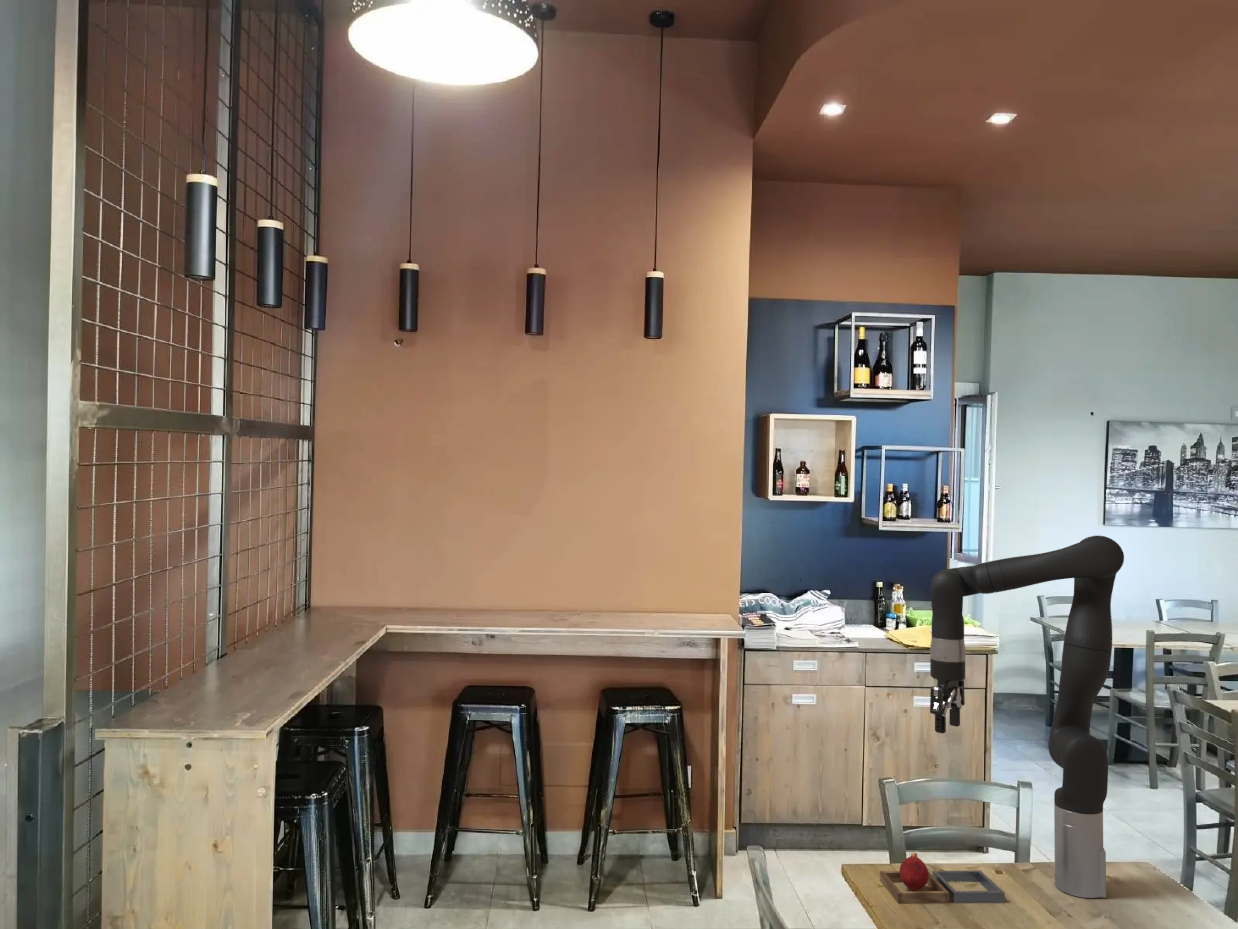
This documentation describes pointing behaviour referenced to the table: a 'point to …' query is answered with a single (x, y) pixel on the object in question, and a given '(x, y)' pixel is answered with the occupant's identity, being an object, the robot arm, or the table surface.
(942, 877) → the grey frame
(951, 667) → the robot arm
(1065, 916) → the table surface
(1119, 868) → the table surface
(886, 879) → the walnut frame
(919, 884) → the pomegranate
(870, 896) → the table surface
